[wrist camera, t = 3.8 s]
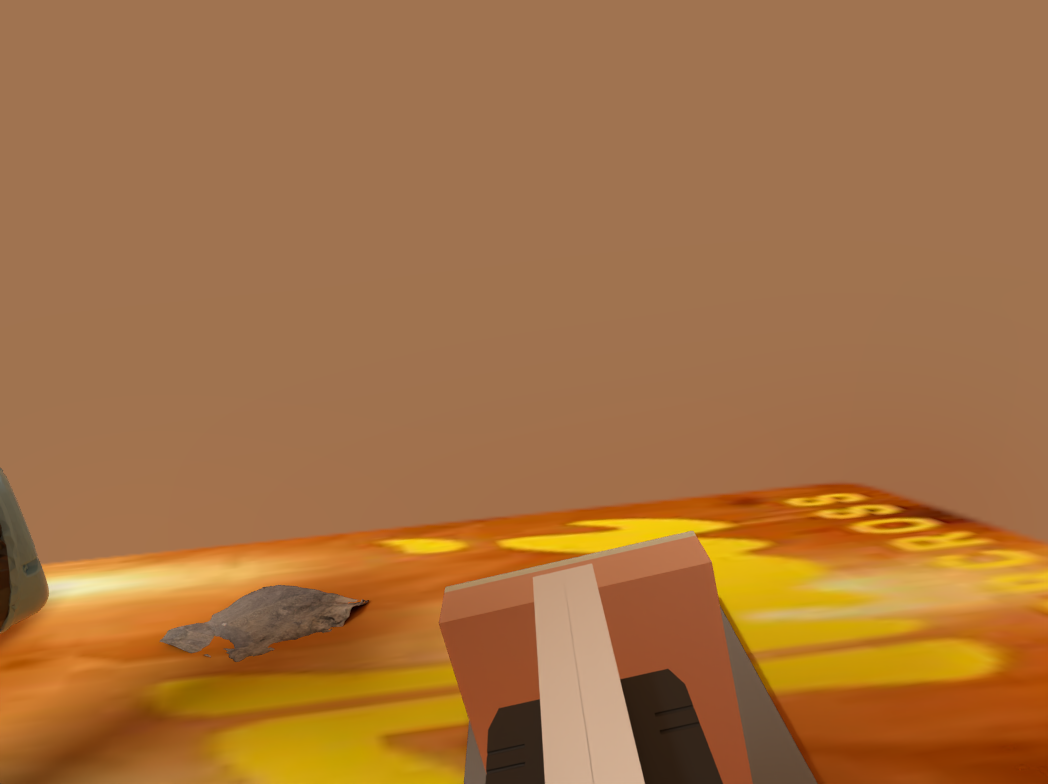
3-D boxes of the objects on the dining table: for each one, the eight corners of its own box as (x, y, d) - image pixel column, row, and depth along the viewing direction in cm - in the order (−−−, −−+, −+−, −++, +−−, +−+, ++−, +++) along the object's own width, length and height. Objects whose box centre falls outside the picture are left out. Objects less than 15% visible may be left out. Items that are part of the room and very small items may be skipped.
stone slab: (152, 642, 59) (237, 575, 67) (160, 658, 60) (243, 590, 68) (291, 670, 51) (369, 590, 59) (299, 689, 51) (375, 606, 59)
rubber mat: (910, 959, 24) (909, 951, 24) (445, 1051, 25) (442, 1044, 25) (714, 598, 47) (713, 593, 47) (476, 650, 48) (475, 646, 48)
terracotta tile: (773, 897, 27) (711, 562, 23) (540, 944, 27) (438, 623, 23) (753, 843, 29) (693, 530, 25) (538, 887, 29) (445, 587, 25)
